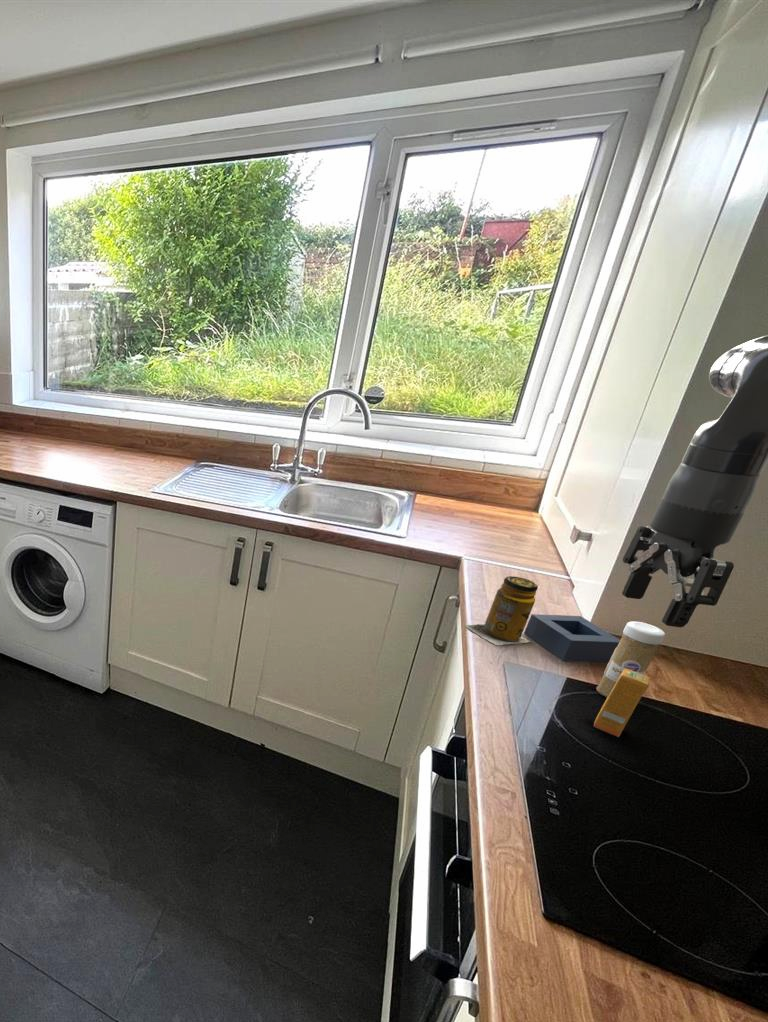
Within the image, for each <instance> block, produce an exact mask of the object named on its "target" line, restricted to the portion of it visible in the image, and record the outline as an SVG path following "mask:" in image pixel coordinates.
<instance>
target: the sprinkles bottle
mask: <svg viewBox="0 0 768 1022" xmlns="http://www.w3.org/2000/svg"><path fill="white" fill-rule="evenodd" d="M622 632H623V633H622V637H621V638H620V642H619V644H618V646H617V647H616V649H615V651H614V653H613V655H612V657H611V659H610V661H609V663H607V665H606V668H605V669H604V672H603V676H602V677H601V679H600V682H599V684H598V685H597V686H596V691H597V693H599V695H601V696H603V697H605V698H606V699H607V697H608V696H609V694H610V692H611V690H612V689H613V687H614V685H615V683H616V682H617V680H618V678H619V676H620V675H621V673H622V671H623V670H624V668H626V669H629V670H632V671H635V672H638V673H640V674H643V675H645V674H646V672H647V670H648V668H649V666H650V664H651V662H652V660H653V657H654V654H655V653H656V651H657V649H658V647H659V646H660V645H661V644H662V643H663V640H664V638H665V636H666V633H665V631H663V630H662V629H661V628H660V627H658V626H655V625H652V624H649V623H646V622H642V621H634V620H633V621H628V622H627V623H626V625H625V627H624V629H623V631H622Z"/></svg>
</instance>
